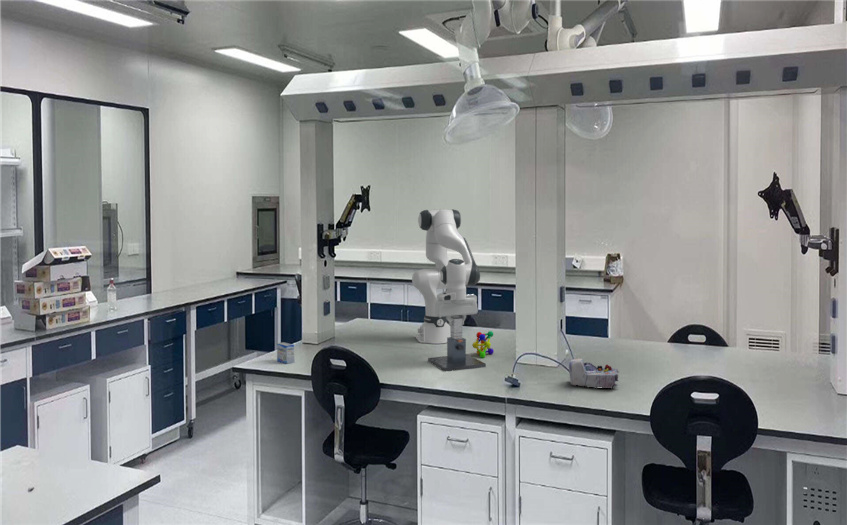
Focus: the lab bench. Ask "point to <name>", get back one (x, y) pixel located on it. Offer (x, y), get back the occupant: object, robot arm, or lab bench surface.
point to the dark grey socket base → (456, 357)
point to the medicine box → (285, 353)
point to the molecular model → (483, 344)
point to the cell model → (592, 374)
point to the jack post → (456, 327)
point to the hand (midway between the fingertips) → (456, 325)
